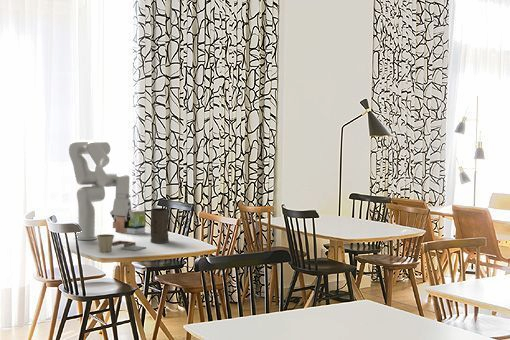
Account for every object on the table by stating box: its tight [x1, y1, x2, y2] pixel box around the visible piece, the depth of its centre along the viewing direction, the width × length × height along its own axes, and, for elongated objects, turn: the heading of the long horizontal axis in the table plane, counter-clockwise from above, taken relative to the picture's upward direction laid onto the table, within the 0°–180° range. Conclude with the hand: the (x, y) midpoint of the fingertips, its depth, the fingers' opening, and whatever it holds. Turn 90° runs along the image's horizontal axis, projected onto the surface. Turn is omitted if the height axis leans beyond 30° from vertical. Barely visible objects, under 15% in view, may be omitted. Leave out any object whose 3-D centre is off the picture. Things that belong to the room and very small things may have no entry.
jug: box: [112, 216, 127, 234], centre depth 364 cm, size 10×6×9 cm, turn 156°
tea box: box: [125, 208, 146, 235], centre depth 413 cm, size 15×10×15 cm, turn 58°
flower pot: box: [96, 233, 115, 253], centre depth 346 cm, size 9×9×9 cm
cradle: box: [112, 240, 136, 248], centre depth 366 cm, size 11×10×2 cm
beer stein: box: [150, 207, 170, 244], centre depth 380 cm, size 15×11×20 cm
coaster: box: [120, 245, 147, 252], centre depth 355 cm, size 10×10×1 cm
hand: (121, 227), depth 366 cm, fingers closed on jug, 6 cm apart
